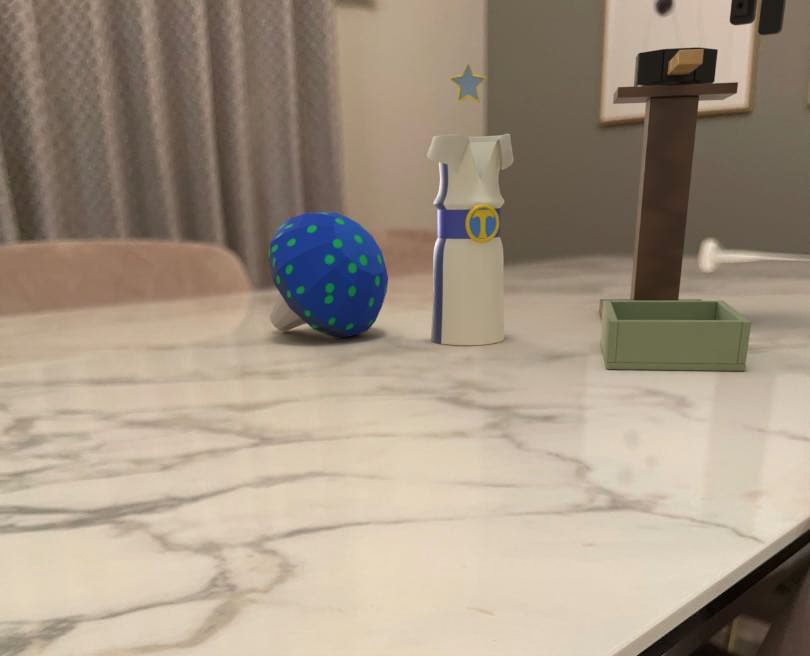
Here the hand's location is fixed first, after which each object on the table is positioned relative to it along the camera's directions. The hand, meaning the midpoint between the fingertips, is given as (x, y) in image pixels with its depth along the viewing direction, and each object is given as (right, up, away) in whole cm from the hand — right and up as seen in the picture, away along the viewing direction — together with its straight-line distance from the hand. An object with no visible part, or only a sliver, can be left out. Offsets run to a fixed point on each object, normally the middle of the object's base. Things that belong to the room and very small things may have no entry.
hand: (756, 29), depth 84 cm
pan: (-7, -4, +3) cm, 8 cm away
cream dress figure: (-28, -30, +5) cm, 41 cm away
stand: (-6, -24, +16) cm, 30 cm away
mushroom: (-44, -28, +9) cm, 53 cm away
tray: (-11, -34, -6) cm, 36 cm away
